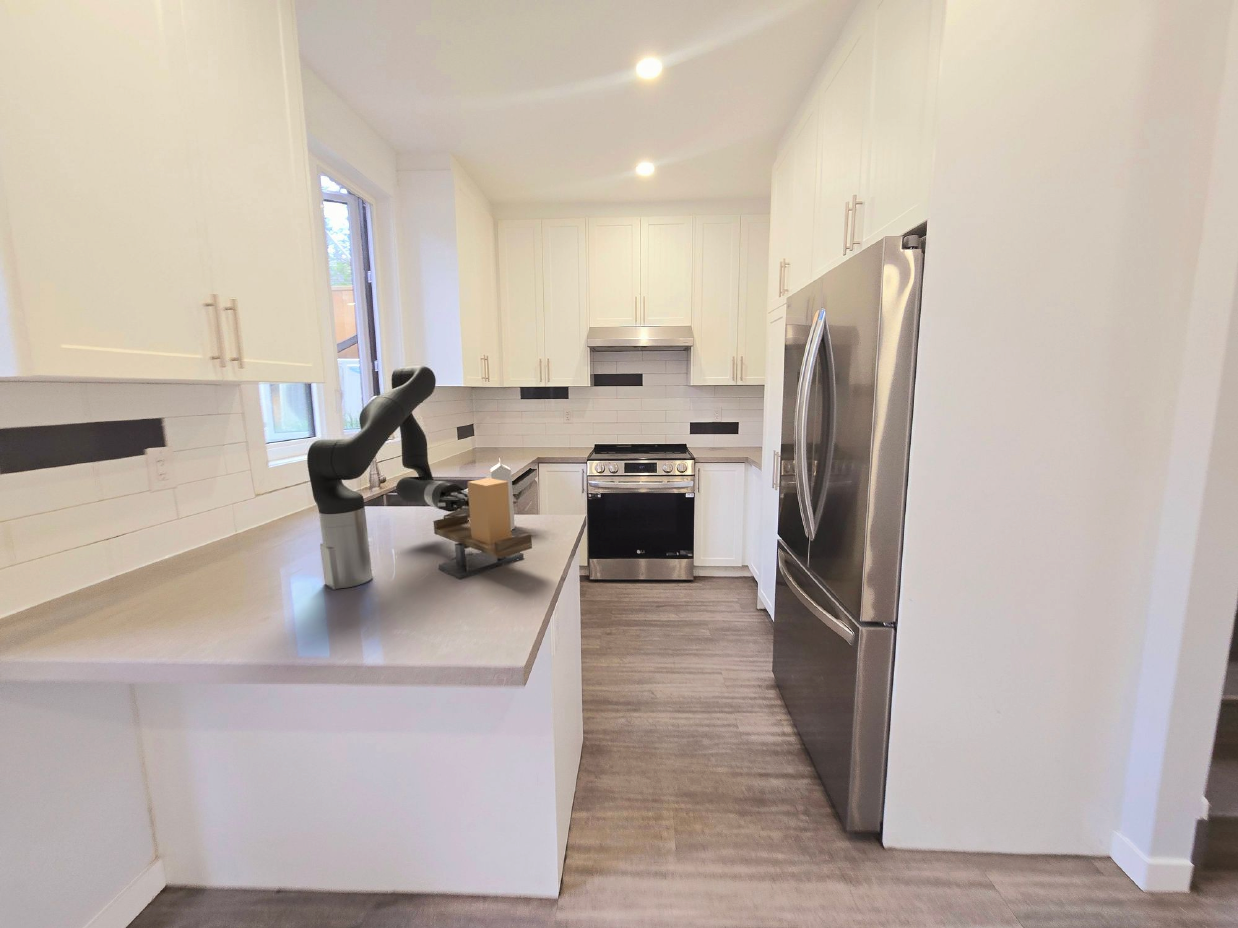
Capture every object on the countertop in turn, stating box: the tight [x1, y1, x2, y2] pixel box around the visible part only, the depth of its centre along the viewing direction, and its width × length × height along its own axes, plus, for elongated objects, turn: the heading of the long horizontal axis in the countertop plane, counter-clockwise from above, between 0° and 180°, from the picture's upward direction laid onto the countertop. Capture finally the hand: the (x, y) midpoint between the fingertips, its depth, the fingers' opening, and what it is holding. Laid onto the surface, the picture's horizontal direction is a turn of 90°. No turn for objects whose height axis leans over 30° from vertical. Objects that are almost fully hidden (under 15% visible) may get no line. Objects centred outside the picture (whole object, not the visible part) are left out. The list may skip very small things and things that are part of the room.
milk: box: [489, 457, 516, 529], centre depth 154 cm, size 6×6×22 cm
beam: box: [432, 514, 533, 559], centre depth 124 cm, size 30×9×4 cm, turn 47°
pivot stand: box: [438, 542, 524, 580], centre depth 125 cm, size 10×18×6 cm, turn 137°
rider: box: [466, 477, 512, 544], centre depth 120 cm, size 6×8×14 cm
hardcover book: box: [443, 500, 519, 520], centre depth 177 cm, size 16×23×2 cm
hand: (479, 504), depth 122 cm, fingers closed
